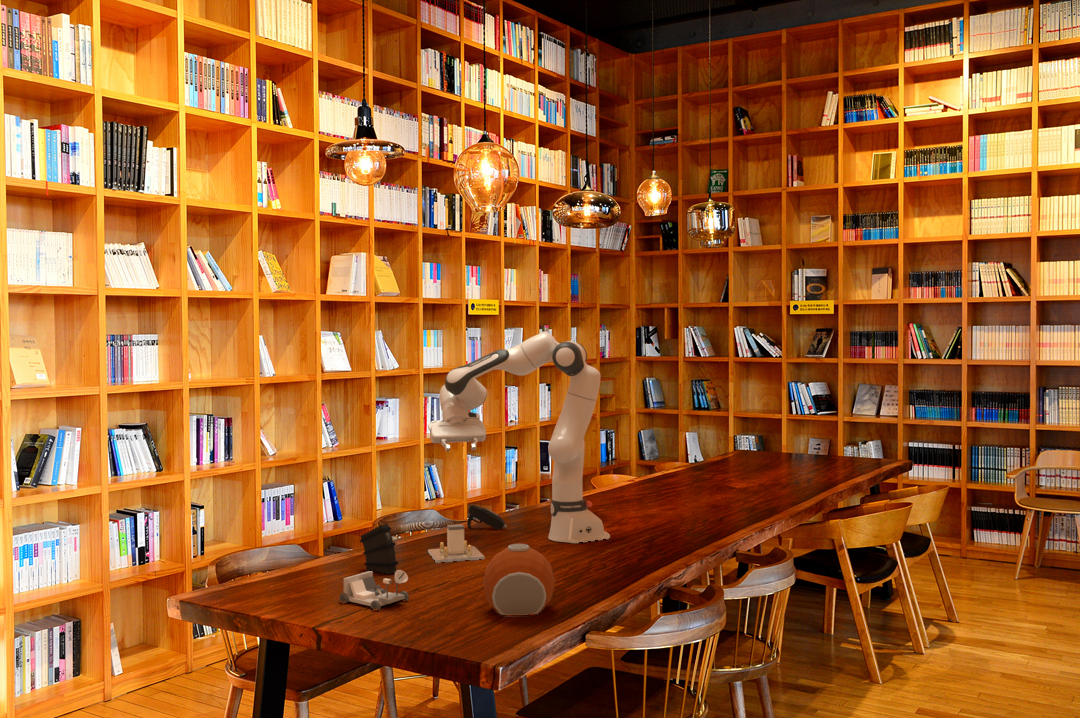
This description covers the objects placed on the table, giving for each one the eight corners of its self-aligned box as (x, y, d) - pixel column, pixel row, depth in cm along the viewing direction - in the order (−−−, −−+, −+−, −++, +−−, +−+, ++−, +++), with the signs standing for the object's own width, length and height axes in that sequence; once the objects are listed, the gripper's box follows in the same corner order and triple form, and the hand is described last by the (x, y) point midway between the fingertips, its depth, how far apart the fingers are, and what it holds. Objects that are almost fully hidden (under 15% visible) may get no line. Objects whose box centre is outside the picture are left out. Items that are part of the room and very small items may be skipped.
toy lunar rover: (415, 568, 245) (384, 577, 236) (415, 604, 245) (385, 614, 236) (369, 559, 256) (338, 568, 246) (370, 594, 256) (339, 603, 246)
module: (461, 550, 302) (461, 524, 302) (464, 553, 298) (464, 526, 298) (447, 551, 301) (447, 525, 301) (449, 554, 297) (449, 527, 297)
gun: (497, 544, 340) (508, 522, 339) (460, 524, 343) (471, 501, 342) (498, 543, 343) (510, 520, 342) (462, 522, 346) (473, 500, 345)
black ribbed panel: (396, 571, 273) (380, 525, 277) (369, 584, 280) (355, 538, 284) (404, 568, 276) (389, 522, 280) (378, 581, 283) (363, 536, 287)
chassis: (473, 548, 309) (473, 537, 309) (484, 559, 294) (484, 547, 294) (428, 552, 305) (427, 540, 305) (436, 563, 290) (436, 550, 289)
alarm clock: (553, 600, 246) (552, 537, 246) (556, 619, 229) (556, 552, 229) (484, 601, 246) (483, 538, 246) (482, 621, 228) (481, 553, 228)
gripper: (428, 415, 322) (433, 445, 313) (483, 413, 328) (489, 443, 319) (426, 426, 327) (431, 456, 317) (480, 424, 333) (487, 454, 323)
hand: (461, 449), depth 318 cm, fingers open, 8 cm apart
